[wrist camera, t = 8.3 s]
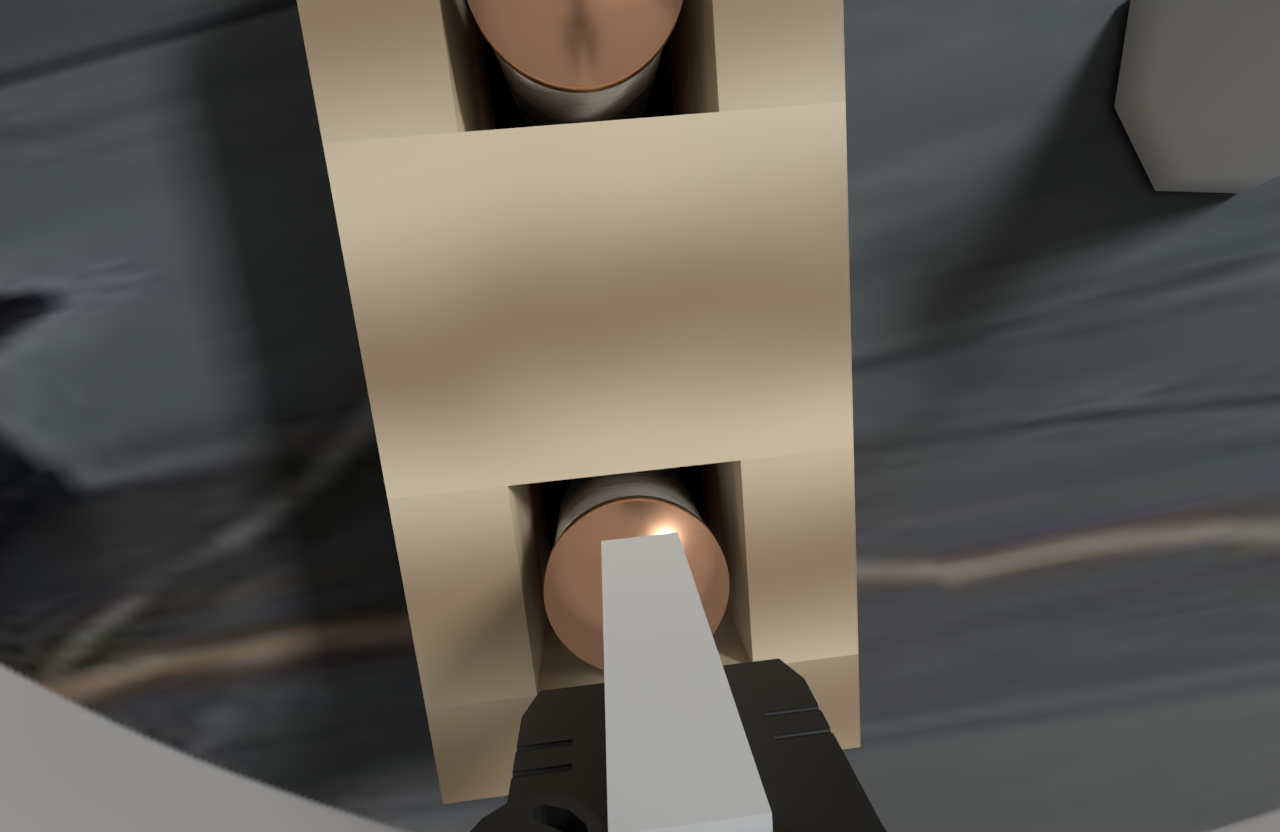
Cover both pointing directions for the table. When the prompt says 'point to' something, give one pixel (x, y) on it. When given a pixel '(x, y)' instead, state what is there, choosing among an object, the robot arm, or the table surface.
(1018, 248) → the table surface
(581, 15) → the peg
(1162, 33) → the flask
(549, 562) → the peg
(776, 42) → the oak block
